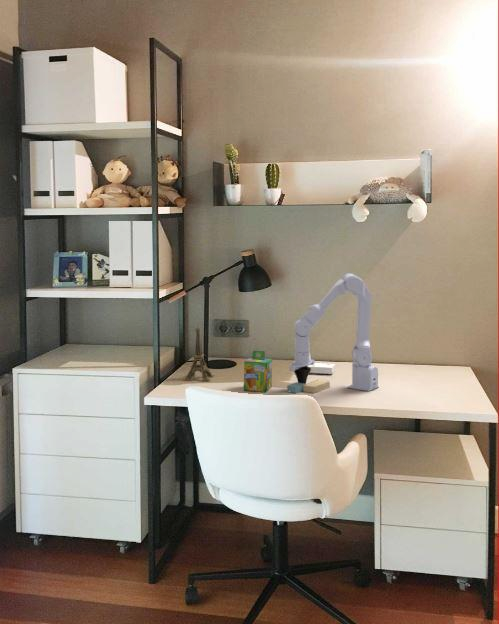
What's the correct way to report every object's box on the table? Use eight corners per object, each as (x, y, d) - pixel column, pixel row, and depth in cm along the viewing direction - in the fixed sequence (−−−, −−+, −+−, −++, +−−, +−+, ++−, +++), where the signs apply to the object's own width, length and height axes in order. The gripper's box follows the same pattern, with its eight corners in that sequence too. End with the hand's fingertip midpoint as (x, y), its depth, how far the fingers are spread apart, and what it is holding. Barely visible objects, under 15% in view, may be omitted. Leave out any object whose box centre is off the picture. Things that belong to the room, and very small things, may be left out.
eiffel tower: (189, 375, 319) (188, 315, 316) (214, 376, 318) (213, 316, 314) (183, 381, 309) (181, 319, 305) (208, 382, 307) (208, 320, 304)
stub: (304, 389, 293) (304, 383, 293) (296, 393, 289) (296, 386, 288) (296, 388, 296) (296, 381, 295) (287, 391, 291) (287, 385, 291)
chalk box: (243, 391, 292) (243, 353, 290) (249, 385, 301) (249, 348, 299) (267, 392, 290) (267, 354, 288) (272, 386, 299) (272, 349, 297)
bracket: (300, 374, 320) (300, 356, 319) (304, 370, 327) (304, 353, 326) (331, 376, 317) (332, 358, 316) (334, 372, 324) (334, 354, 323)
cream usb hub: (329, 387, 297) (329, 381, 297) (314, 393, 288) (314, 386, 288) (318, 385, 300) (318, 379, 300) (303, 391, 291) (303, 384, 291)
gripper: (303, 347, 301) (303, 381, 303) (282, 353, 290) (282, 388, 292) (319, 349, 297) (318, 383, 299) (298, 355, 286) (298, 391, 288)
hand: (301, 386), depth 295 cm, fingers closed
